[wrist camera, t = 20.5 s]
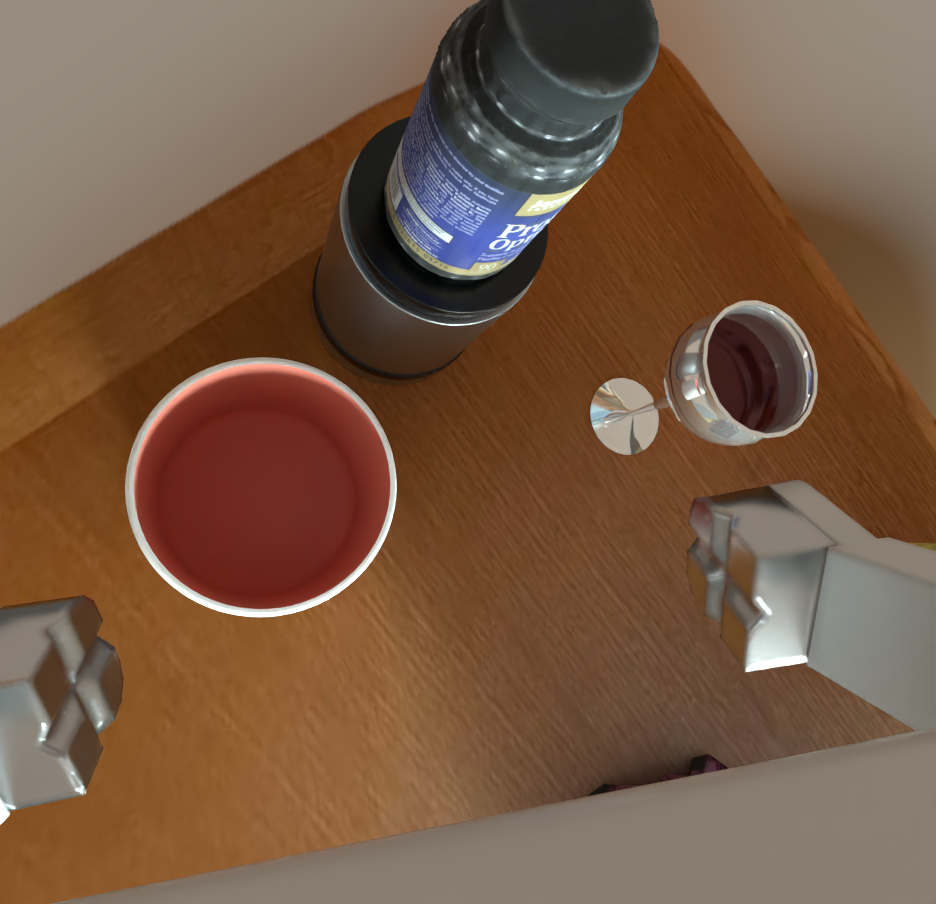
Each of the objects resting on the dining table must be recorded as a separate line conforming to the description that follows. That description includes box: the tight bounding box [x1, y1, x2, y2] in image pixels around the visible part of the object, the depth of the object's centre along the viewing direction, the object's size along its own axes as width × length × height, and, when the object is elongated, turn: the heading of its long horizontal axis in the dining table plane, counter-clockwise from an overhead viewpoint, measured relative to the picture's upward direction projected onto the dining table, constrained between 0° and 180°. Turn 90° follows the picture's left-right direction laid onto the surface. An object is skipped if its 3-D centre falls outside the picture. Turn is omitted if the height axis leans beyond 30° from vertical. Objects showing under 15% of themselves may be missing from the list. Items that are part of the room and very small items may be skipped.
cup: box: [125, 357, 397, 617], centre depth 31 cm, size 10×10×10 cm
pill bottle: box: [384, 0, 659, 280], centre depth 23 cm, size 6×6×11 cm
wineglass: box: [590, 300, 818, 455], centre depth 38 cm, size 7×7×12 cm
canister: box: [311, 117, 548, 385], centre depth 34 cm, size 9×9×12 cm
